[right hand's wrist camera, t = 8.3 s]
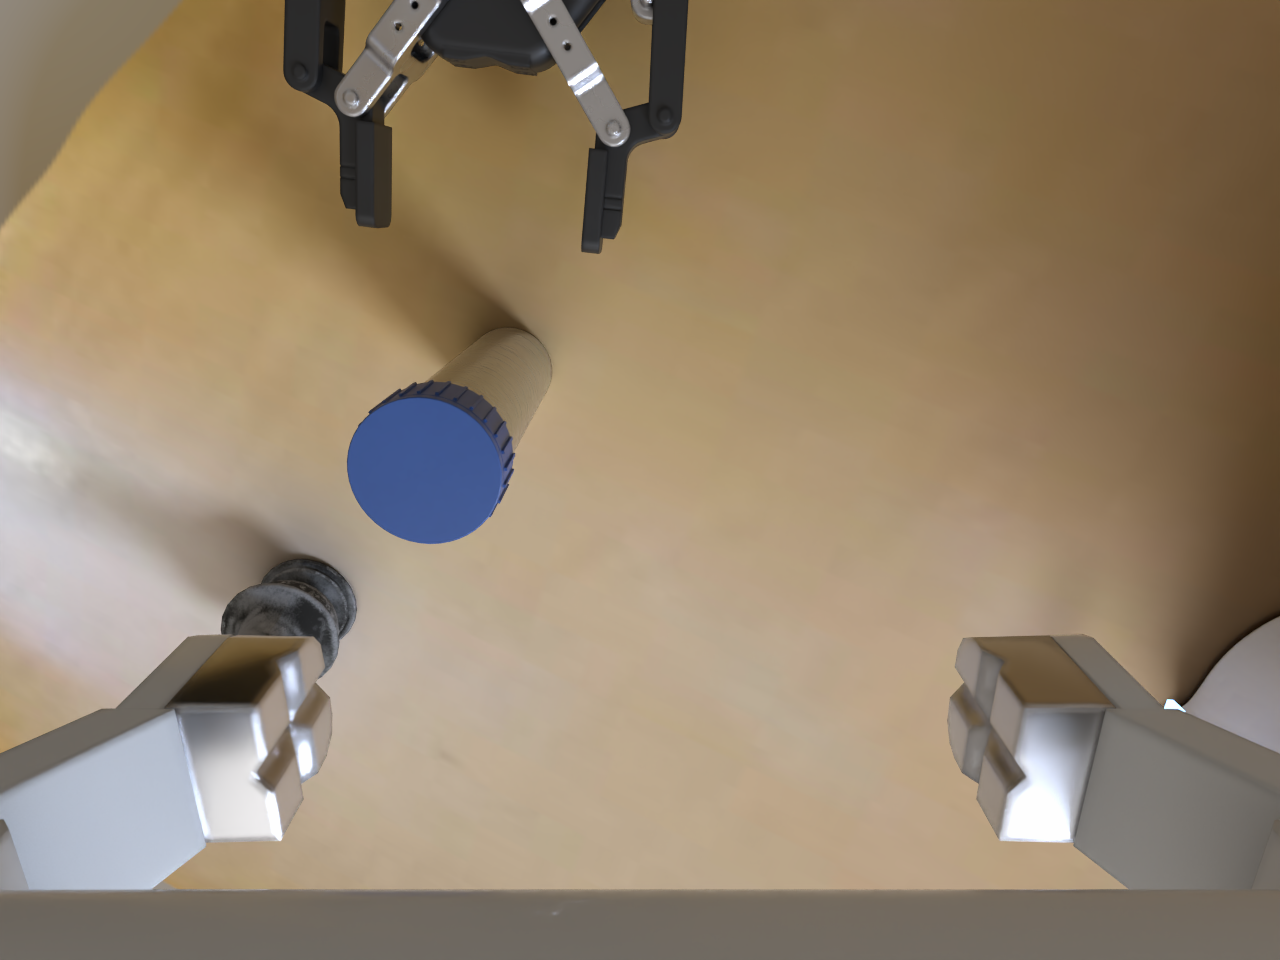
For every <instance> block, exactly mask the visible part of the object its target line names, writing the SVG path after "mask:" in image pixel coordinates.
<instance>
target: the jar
mask: <svg viewBox="0 0 1280 960" xmlns="http://www.w3.org/2000/svg"><path fill="white" fill-rule="evenodd" d="M551 377H552V366H551V361H550V358H549V355H548V353H547V351H546V349H545V348H544V346H543V345H542V344H541V342H540V341H539V340H538V339H536V338H535V337H534V336H533V335H531V334H530V333H528V332H526V331H523V330H520V329H516V328H509V327H507V328H498V329H495V330H492V331H490V332H488V333H486V334H485V335H483V336H482V337H480V338H479V339H478V340H477V341H475V342H474V343H473V344H472V345H471V346H469V347H468V348H467V349H466V350H464V351H463V352H462V353H461V354H459V355H458V356H457V357H456V358H454V359H453V360H452V361H451V362H449V363H448V364H447V365H446V366H444V367H443V368H442V369H441V370H439V371H438V372H437V373H436V374H434V375H433V376H432V377H431V378H429V379H428V380H427V381H426V382H428V381H429V380H433V381H434V382H447V381H451V384H456V385H459V386H462V387H465V386H467V387H468V389H469V390H471V391H473V392H475V393H477V394H478V395H483V396H484V397H483V398H484V399H485V400H486V401H487V402H489V403H490V404H491V405H492V406H493V407H494V406H495V407H496V408H497V409H496V411H497V412H498V413H499V415H500V416H501V418H502V419H503V421H506V423H507V424H506V427H507V429H508V432H509V434H510V437H511V436H512V438H513V440H512V447H513V453H514V451H515V449H516V448H517V446H518V444H519V442H520V440H521V438H522V436H523V435H524V433H525V431H526V429H527V427H528V425H529V423H530V422H531V420H532V418H533V416H534V414H535V412H536V410H537V409H538V407H539V405H540V403H541V401H542V399H543V397H544V396H545V394H546V392H547V390H548V388H549V385H550V382H551ZM424 383H425V382H424Z"/></svg>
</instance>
